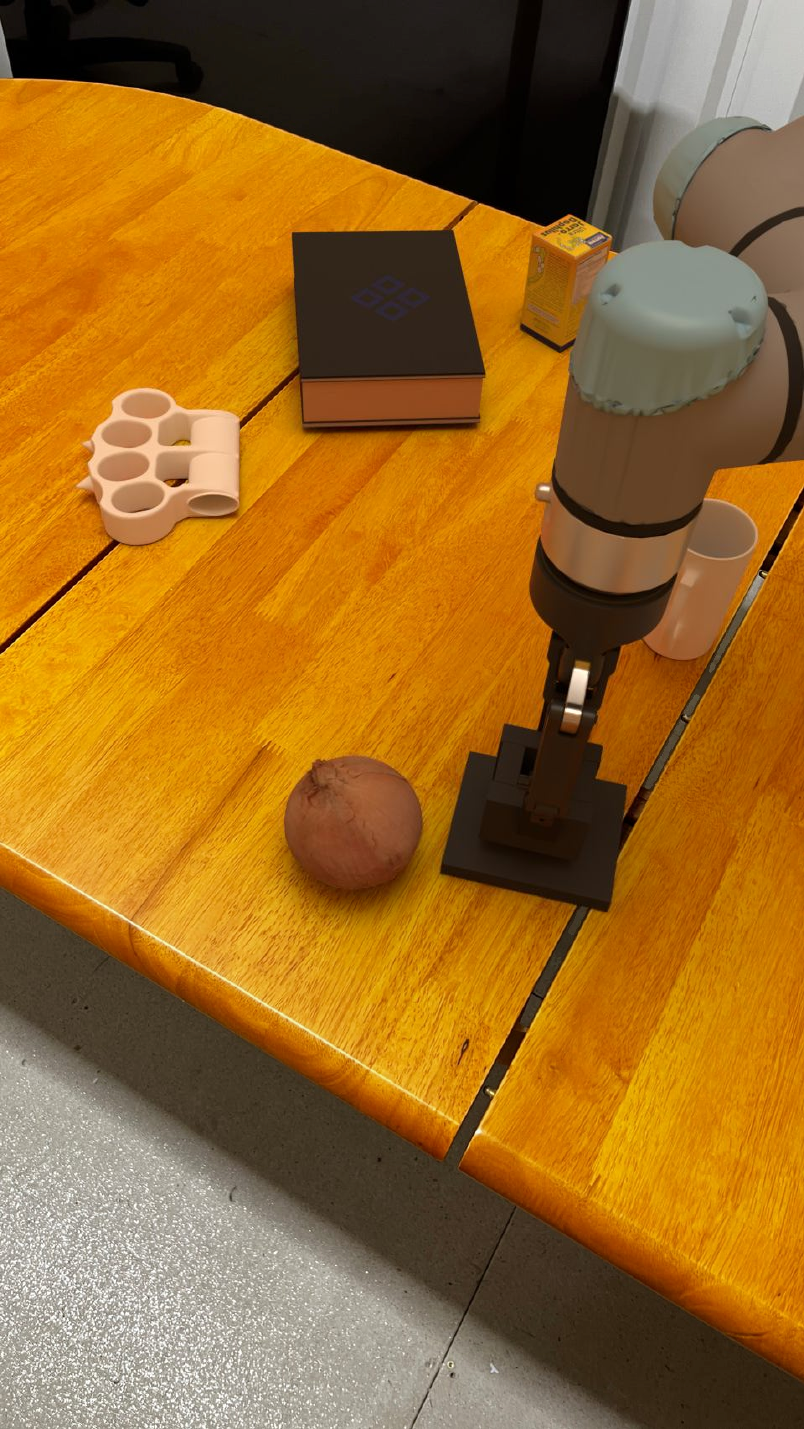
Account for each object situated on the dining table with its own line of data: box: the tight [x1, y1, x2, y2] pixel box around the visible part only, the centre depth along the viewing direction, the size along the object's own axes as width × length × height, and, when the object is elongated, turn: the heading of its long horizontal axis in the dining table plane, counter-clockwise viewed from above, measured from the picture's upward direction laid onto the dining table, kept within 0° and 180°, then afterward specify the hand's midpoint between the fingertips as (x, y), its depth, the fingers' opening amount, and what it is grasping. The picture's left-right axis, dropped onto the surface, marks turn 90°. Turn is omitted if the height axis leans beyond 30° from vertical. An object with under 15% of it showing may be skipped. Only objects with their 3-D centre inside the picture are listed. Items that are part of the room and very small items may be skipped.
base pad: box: [439, 750, 628, 913], centre depth 78 cm, size 12×10×7 cm
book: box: [291, 229, 487, 429], centre depth 112 cm, size 17×25×7 cm
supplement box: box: [519, 214, 613, 353], centre depth 114 cm, size 6×6×11 cm
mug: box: [642, 497, 759, 661], centre depth 87 cm, size 10×7×12 cm, turn 151°
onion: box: [283, 755, 424, 891], centre depth 75 cm, size 10×9×10 cm
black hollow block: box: [478, 723, 604, 862], centre depth 76 cm, size 7×7×5 cm
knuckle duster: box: [74, 387, 241, 546], centre depth 101 cm, size 3×18×15 cm
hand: (544, 789), depth 76 cm, fingers closed on black hollow block, 7 cm apart
